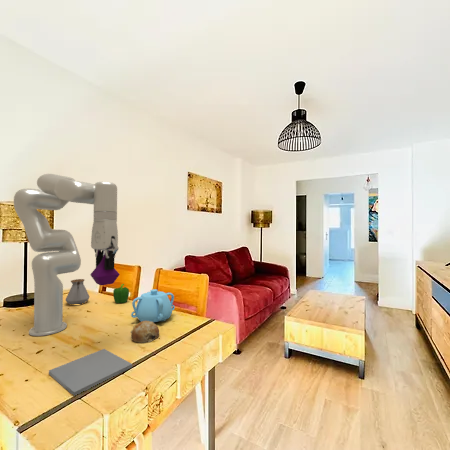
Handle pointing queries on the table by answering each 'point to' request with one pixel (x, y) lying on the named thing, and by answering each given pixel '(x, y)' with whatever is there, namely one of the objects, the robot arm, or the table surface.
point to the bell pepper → (121, 294)
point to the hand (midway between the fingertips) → (104, 268)
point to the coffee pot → (77, 293)
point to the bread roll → (144, 332)
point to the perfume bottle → (104, 273)
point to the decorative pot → (153, 306)
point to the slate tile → (89, 371)
